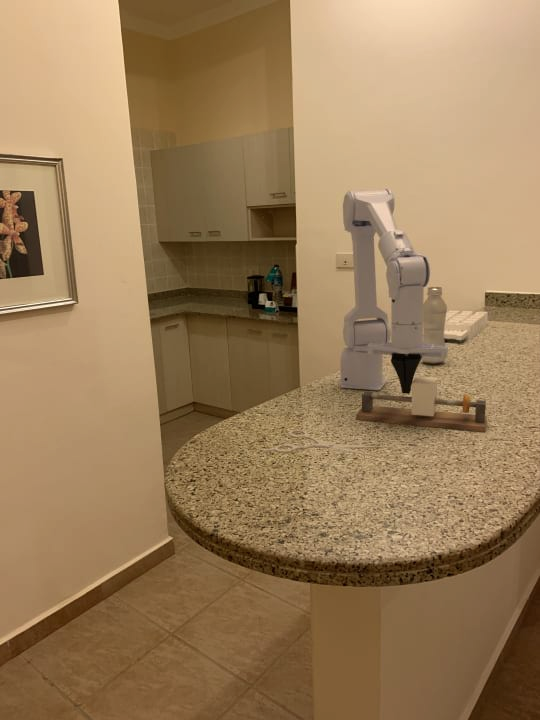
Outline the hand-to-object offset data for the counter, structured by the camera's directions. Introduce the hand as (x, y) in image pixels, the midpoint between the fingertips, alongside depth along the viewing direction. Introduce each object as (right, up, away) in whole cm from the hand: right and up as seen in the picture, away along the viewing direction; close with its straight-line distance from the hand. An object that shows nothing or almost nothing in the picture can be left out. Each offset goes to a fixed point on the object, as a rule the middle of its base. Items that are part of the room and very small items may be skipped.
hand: (406, 392), depth 104 cm
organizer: (+36, +15, +77) cm, 86 cm away
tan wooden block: (+3, -4, 0) cm, 5 cm away
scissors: (-16, -9, -9) cm, 21 cm away
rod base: (+2, -5, 0) cm, 6 cm away
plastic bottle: (+17, +5, +41) cm, 44 cm away
